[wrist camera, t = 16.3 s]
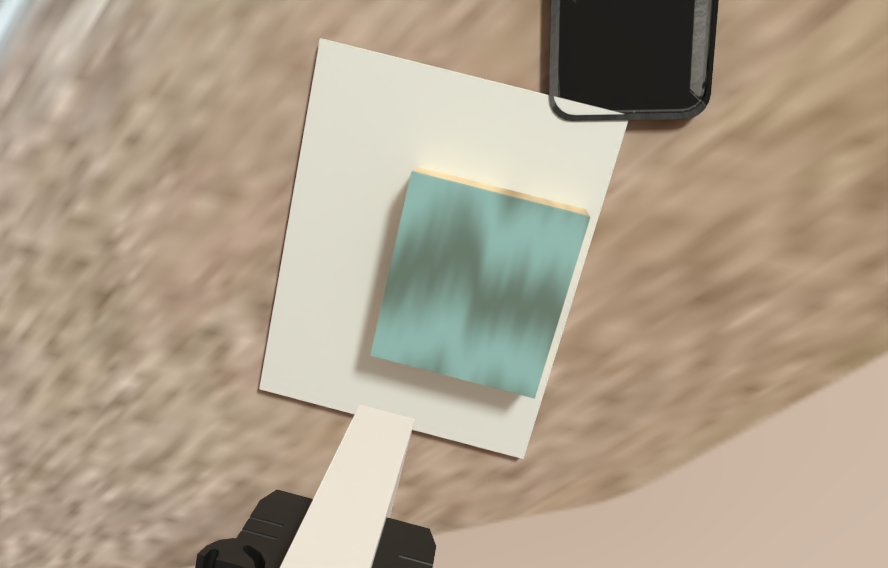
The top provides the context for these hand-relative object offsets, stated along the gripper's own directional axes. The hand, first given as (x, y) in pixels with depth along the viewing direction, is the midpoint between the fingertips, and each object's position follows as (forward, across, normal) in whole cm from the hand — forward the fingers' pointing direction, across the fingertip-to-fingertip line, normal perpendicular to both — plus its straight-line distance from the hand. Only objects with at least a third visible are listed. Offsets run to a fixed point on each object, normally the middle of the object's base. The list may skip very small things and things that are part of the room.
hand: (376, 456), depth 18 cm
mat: (+20, -1, 0) cm, 20 cm away
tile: (+19, -3, 0) cm, 19 cm away
